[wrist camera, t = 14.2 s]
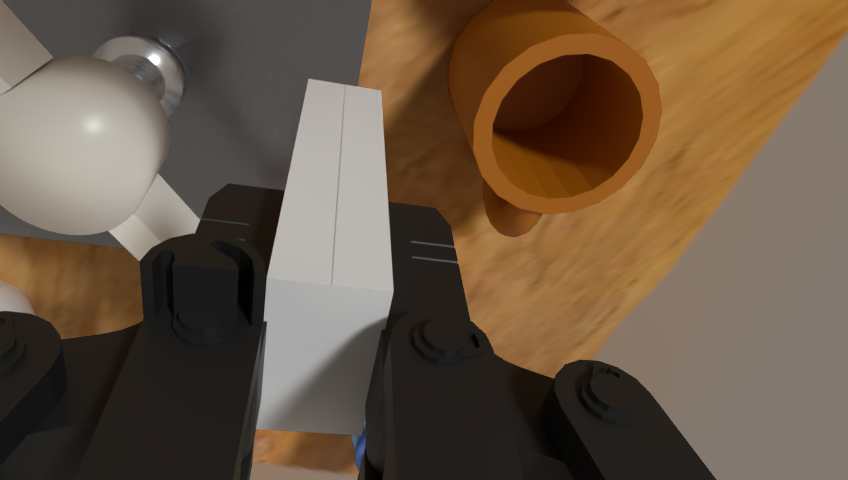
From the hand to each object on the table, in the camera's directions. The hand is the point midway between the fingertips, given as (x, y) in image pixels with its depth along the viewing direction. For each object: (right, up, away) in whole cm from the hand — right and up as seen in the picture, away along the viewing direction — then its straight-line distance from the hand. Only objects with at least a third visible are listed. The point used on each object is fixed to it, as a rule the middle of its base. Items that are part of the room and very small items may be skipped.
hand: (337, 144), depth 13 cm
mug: (+7, +7, +23) cm, 25 cm away
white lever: (-11, +1, +15) cm, 18 cm away
